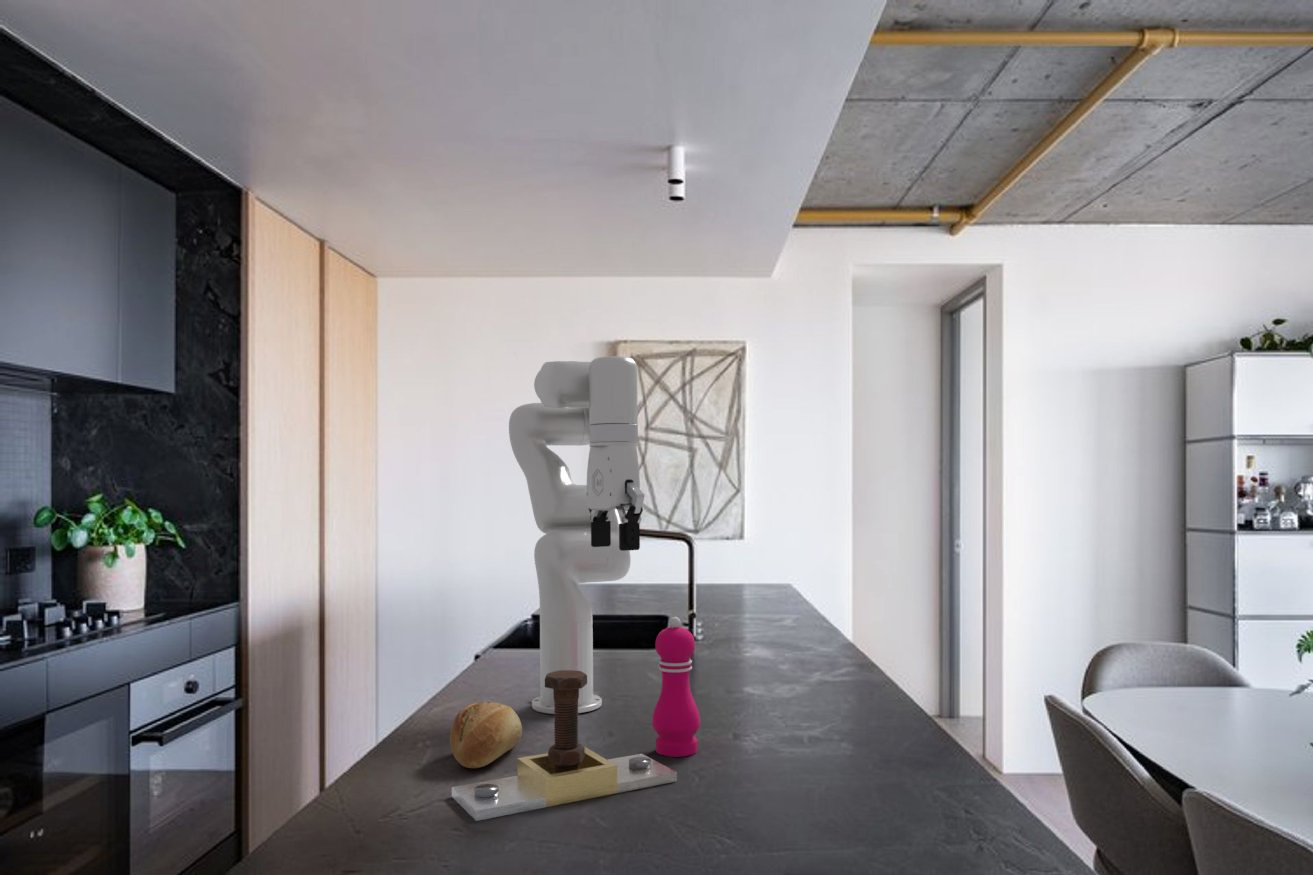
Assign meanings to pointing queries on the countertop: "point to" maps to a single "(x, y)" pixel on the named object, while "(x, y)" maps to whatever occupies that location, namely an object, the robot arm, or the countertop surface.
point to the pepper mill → (675, 693)
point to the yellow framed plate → (559, 784)
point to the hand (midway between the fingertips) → (614, 548)
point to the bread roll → (484, 733)
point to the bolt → (566, 719)
